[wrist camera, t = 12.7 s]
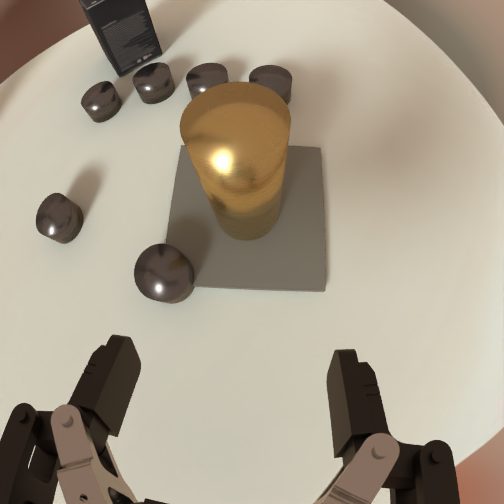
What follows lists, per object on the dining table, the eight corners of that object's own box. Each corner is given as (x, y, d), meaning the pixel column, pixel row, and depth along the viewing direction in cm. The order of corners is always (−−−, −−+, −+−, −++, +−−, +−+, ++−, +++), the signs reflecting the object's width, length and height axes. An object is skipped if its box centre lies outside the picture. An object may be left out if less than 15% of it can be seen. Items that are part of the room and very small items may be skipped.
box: (164, 54, 26) (140, -18, 16) (120, 79, 26) (84, 9, 15) (143, 33, 28) (121, -27, 18) (104, 54, 27) (75, -4, 17)
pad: (164, 284, 20) (161, 283, 19) (183, 149, 22) (181, 145, 22) (323, 291, 19) (325, 290, 19) (319, 151, 22) (320, 147, 21)
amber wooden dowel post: (213, 239, 20) (171, 165, 10) (218, 182, 21) (189, 84, 11) (278, 241, 20) (292, 165, 10) (278, 183, 21) (288, 82, 11)
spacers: (42, 288, 20) (24, 283, 18) (98, 90, 25) (89, 76, 23) (290, 310, 19) (295, 308, 17) (289, 75, 24) (290, 56, 22)
